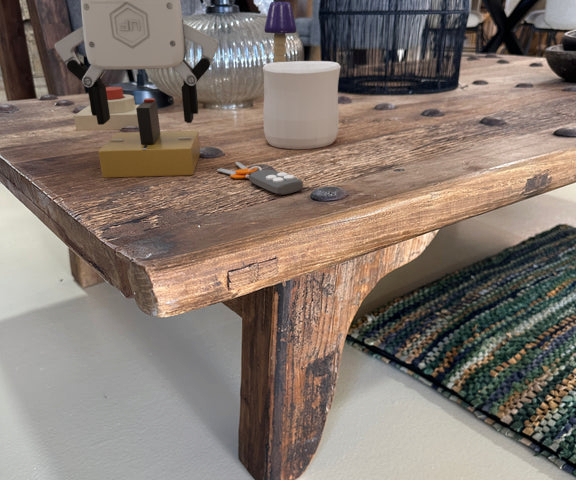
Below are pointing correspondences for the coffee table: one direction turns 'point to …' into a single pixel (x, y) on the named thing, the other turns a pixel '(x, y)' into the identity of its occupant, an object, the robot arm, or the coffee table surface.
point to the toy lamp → (280, 26)
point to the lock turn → (148, 121)
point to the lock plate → (150, 155)
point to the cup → (301, 104)
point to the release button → (114, 93)
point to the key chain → (267, 179)
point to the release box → (119, 112)
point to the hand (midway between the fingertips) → (146, 121)
